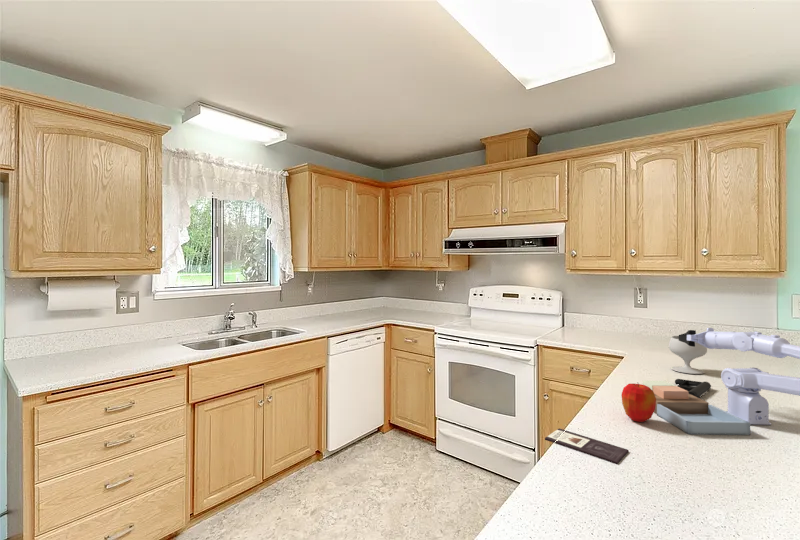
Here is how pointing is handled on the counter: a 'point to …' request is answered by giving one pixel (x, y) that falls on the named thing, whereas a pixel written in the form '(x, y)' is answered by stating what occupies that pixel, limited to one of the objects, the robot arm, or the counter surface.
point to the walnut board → (684, 405)
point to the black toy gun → (694, 387)
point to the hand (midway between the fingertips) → (689, 338)
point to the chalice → (686, 354)
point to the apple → (638, 402)
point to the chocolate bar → (588, 445)
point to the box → (706, 422)
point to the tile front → (670, 392)
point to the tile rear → (656, 384)
